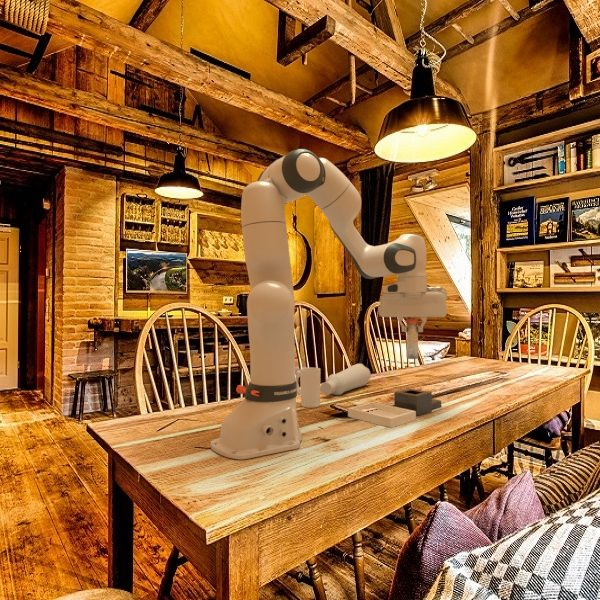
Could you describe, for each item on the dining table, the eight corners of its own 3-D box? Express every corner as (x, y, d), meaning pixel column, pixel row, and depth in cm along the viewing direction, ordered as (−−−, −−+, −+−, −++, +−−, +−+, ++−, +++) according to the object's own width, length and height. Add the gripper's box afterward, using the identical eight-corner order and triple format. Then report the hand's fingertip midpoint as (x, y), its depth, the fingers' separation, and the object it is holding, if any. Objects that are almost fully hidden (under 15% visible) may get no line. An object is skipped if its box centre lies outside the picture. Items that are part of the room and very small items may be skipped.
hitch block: (416, 416, 123) (416, 396, 123) (394, 411, 129) (394, 392, 129) (445, 407, 134) (445, 388, 134) (423, 403, 140) (423, 385, 140)
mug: (324, 405, 138) (324, 368, 138) (311, 409, 133) (311, 371, 133) (302, 400, 145) (302, 366, 145) (288, 404, 140) (288, 368, 140)
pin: (411, 359, 127) (411, 319, 127) (404, 358, 130) (404, 319, 130) (420, 358, 128) (420, 319, 128) (413, 357, 131) (412, 319, 132)
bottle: (348, 375, 176) (310, 390, 151) (358, 358, 173) (322, 370, 148) (365, 389, 172) (329, 406, 147) (376, 372, 169) (341, 387, 144)
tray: (391, 428, 112) (391, 418, 112) (348, 416, 124) (347, 408, 124) (416, 420, 120) (415, 411, 120) (373, 409, 132) (373, 401, 132)
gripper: (445, 287, 130) (446, 331, 130) (378, 287, 134) (379, 330, 134) (448, 286, 124) (449, 332, 124) (378, 287, 128) (378, 332, 128)
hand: (412, 331), depth 129 cm, fingers closed on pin, 3 cm apart
